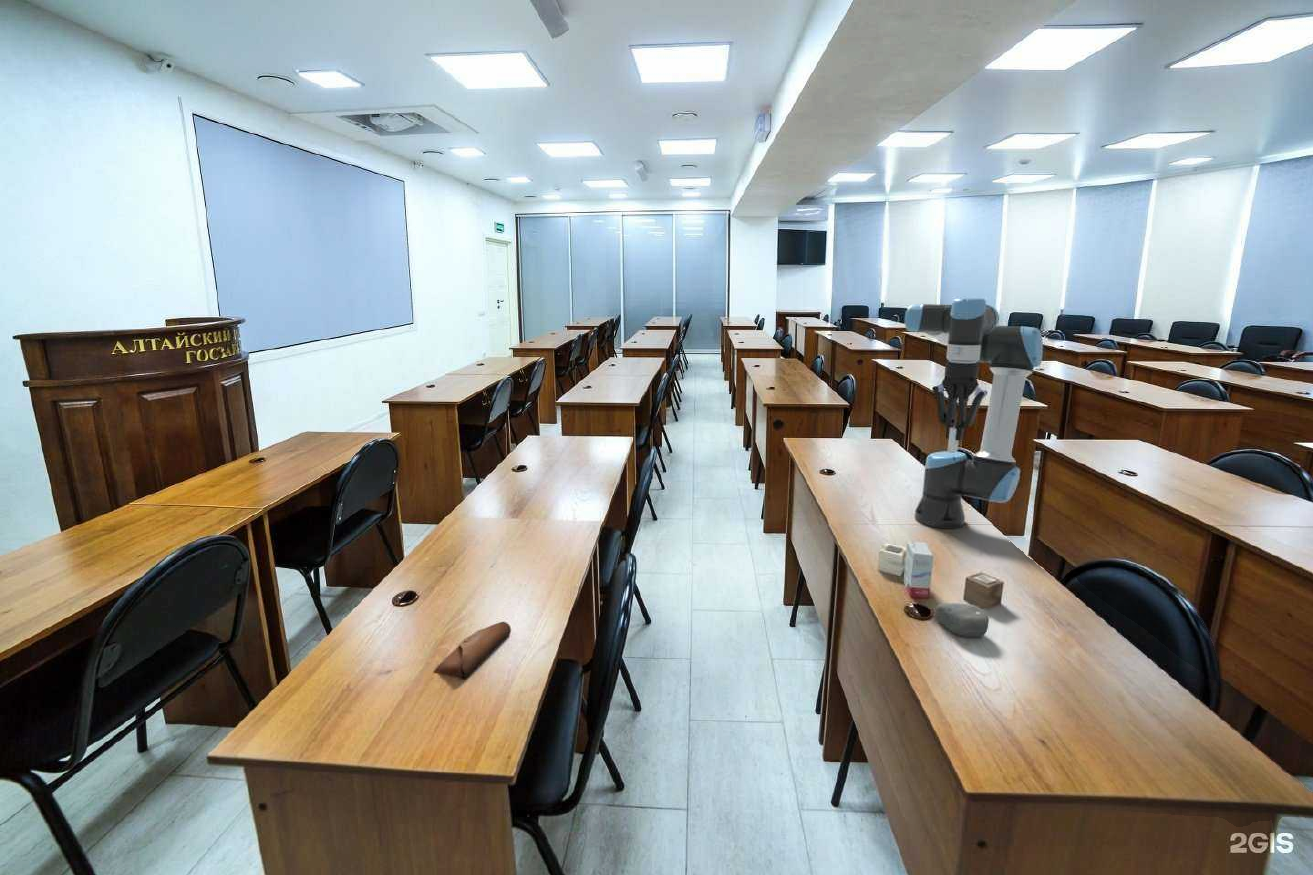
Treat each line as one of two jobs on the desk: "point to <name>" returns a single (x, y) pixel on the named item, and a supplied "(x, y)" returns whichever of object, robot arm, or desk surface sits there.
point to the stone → (963, 619)
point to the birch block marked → (892, 559)
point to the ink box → (918, 569)
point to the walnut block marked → (983, 590)
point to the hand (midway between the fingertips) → (952, 451)
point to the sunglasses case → (473, 651)
